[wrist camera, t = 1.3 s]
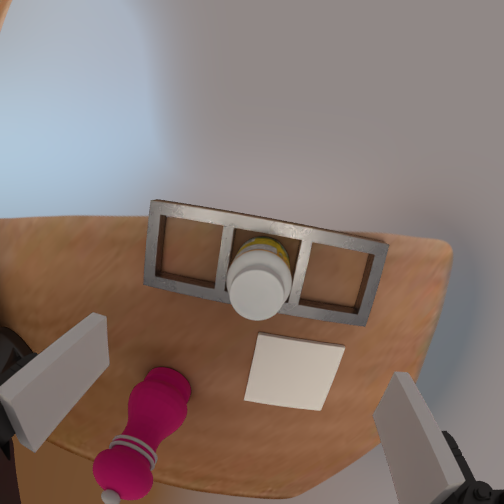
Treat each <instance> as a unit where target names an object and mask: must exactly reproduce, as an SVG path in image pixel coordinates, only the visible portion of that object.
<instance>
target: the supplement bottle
mask: <svg viewBox="0 0 504 504" xmlns="http://www.w3.org/2000/svg"><path fill="white" fill-rule="evenodd" d="M226 284H227V290H228V293H229V297H230V302H231V304H232V306H233V308H234V309H235V310H236V312H237V313H238V314H240V315H241V316H243V317H245V318H247V319H250V320H256V321H257V320H265V319H268V318H270V317H272V316H274V315H275V314H276V313H277V312H278V311H279V310H280V308H281V307H282V304H283V303H284V302H285V301H286V300H287V298H288V296H289V294H290V291H291V287H292V277H291V270H290V263H289V257H288V254H287V252H286V250H285V248H284V247H283V246H282V245H281V243H279V242H278V241H277V240H275V239H273V238H270V237H265V236H260V237H255V238H252V239H250V240H248V241H247V242H245V243H244V244H243V245H242V246H241V248H240V249H239V251H238V253H237V255H236V257H235V258H234V260H233V262H232V264H231V266H230V268H229V270H228V273H227V279H226Z"/></svg>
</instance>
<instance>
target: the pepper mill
mask: <svg viewBox="0 0 504 504" xmlns="http://www.w3.org/2000/svg"><path fill="white" fill-rule="evenodd" d="M190 395H191V387H190V385H189V382H188V381H187V380H186V378H185V377H184V376H183V375H181V374H180V373H179V372H177V371H175V370H173V369H170V368H165V367H158V368H154V369H152V370H151V371H150V372H149V373H148V374H147V376H146V377H145V379H144V381H143V382H140V383H138V384H137V385H136V386H135V387H134V388H133V390H132V392H131V394H130V397H129V402H128V423H127V426H126V428H125V430H124V431H123V433H122V434H121V435H117V436H115V437H114V438H113V442H112V443H110V445H109V449H106V450H103V451H102V452H100V453H99V454H98V455H97V456H96V458H95V460H94V463H93V474H94V477H95V479H96V481H97V483H98V484H99V485H100V486H101V487H102V488H103V489H104V490H105V491H103V493H102V495H101V496H102V500H103V502H104V503H106V504H119V503H120V499H124V500H138V499H140V498H142V497H144V496H145V495H147V493H148V492H149V491H150V489H151V487H152V484H153V475H152V473H151V471H152V470H153V469H154V467H155V464H156V462H157V455H156V449H157V447H158V445H159V444H160V443H161V441H162V440H163V439H165V438H166V437H167V436H169V435H170V434H172V433H173V432H175V431H176V430H177V429H178V428H179V427H180V426H181V425H182V423H183V421H184V420H185V418H186V415H187V405H186V404H187V402H188V400H189V397H190Z"/></svg>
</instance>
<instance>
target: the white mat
mask: <svg viewBox="0 0 504 504" xmlns="http://www.w3.org/2000/svg"><path fill="white" fill-rule="evenodd" d="M344 350H345V346H344V345H339V344H332V343H325V342H318V341H311V340H304V339H298V338H292V337H285V336H280V335H274V334H268V333H262V332H259V333H258V338H257V342H256V347H255V352H254V356H253V361H252V366H251V370H250V375H249V379H248V384H247V388H246V393H245V397H244V400H246V401H251V402H257V403H263V404H270V405H277V406H284V407H292V408H300V409H309V410H319V411H321V409H322V406H323V404H324V402H325V399H326V397H327V394H328V392H329V389H330V387H331V384H332V382H333V379H334V377H335V374H336V372H337V369H338V366H339V363H340V361H341V358H342V355H343V352H344Z"/></svg>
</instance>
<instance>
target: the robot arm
mask: <svg viewBox="0 0 504 504" xmlns="http://www.w3.org/2000/svg"><path fill="white" fill-rule="evenodd" d="M109 365H110V364H109V352H108V338H107V318H106V316H103V315H100V314H97V313H94V312H93V313H91V314H90V315H89V316H87V317H86V318H85V319H83V320H82V321H81V322H79V323H78V324H77V325H76V326H74V327H73V328H72V329H70V330H69V331H68V332H67V333H65V334H64V335H63V336H61V337H60V338H59V339H58V340H56V341H55V342H54V343H53V344H51V345H50V346H49V347H47V348H46V349H45V350H44V351H42V352H41V353H40V354H37V353H35V352H34V353H32V351H31V350H30V349H29V347H28V346H27V345H26V344H25V342H24V341H23V340H22V339H21V338H20V337H19V336H18V335H17V334H16V333H14V332H13V331H12V330H10V329H8V328H6V327H0V504H21V501H20V495H19V489H18V482H17V476H16V468H15V458H14V447H13V441H12V438H11V437H12V436H13V435H14V434H16V436H17V438H18V440H19V442H20V443H21V444H22V445H24V446H25V447H27V448H28V449H30V450H31V451H33V452H34V453H35V452H36V451H37V450H38V448H39V447H40V446H41V445H42V444H43V442H44V441H45V440H46V439H47V437H48V436H49V435H50V434H51V433H52V431H53V430H54V429H55V428H56V427H57V425H58V424H59V423H60V422H61V421H62V419H63V418H64V417H65V416H66V415H67V414H68V412H69V411H70V410H71V409H72V408H73V406H74V405H75V404H76V403H77V402H78V401H79V399H80V398H81V397H82V396H83V395H84V394H85V392H86V391H87V390H88V389H89V388H90V387H91V385H92V384H93V383H94V382H95V381H96V380H97V379H98V377H99V376H100V375H101V374H102V373H103V372H104V371H105V369H106V368H107V367H108V366H109ZM373 418H374V421H375V424H376V427H377V430H378V433H379V437H380V440H381V443H382V446H383V449H384V452H385V455H386V459H387V462H388V466H389V469H390V473H391V476H392V479H393V483H394V486H395V490H396V494H397V497H398V501H399V504H504V490H492V488H491V487H490V486H489V484H487V483H485V482H482V481H476V480H475V478H474V477H473V474H472V472H471V470H470V468H469V466H468V464H467V462H466V461H465V458H464V457H463V456H462V453H461V451H460V449H458V445H457V443H456V441H455V440H454V438H453V437H452V436H451V435H450V434H449V433H447V431H441V430H440V428H439V426H438V424H437V423H436V421H435V419H434V417H433V415H432V414H431V412H430V410H429V408H428V407H427V404H426V402H425V401H424V399H423V397H422V395H421V394H420V392H419V390H418V388H417V387H416V385H415V383H414V381H413V380H412V378H411V376H410V375H409V373H408V372H394V374H393V376H392V378H391V380H390V382H389V384H388V387H387V389H386V391H385V393H384V395H383V397H382V399H381V400H380V402H379V404H378V406H377V408H376V410H375V412H374V414H373Z"/></svg>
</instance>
